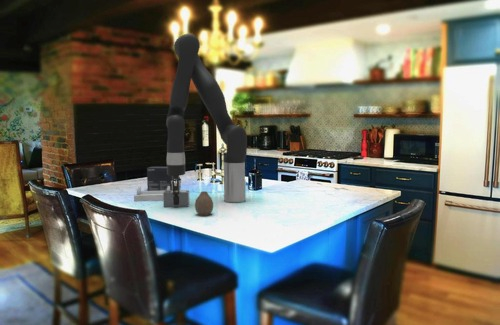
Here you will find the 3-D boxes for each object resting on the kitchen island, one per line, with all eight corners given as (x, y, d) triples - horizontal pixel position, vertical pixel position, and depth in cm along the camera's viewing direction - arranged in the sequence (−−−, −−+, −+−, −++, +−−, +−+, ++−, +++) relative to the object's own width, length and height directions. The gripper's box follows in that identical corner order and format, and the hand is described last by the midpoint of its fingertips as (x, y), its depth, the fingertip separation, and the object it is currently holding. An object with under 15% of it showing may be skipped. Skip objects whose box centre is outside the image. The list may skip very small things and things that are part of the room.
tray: (172, 195, 190) (172, 185, 189) (171, 200, 179) (170, 189, 178) (137, 196, 187) (137, 185, 187) (134, 201, 177) (133, 190, 176)
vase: (204, 211, 157) (204, 189, 156) (217, 214, 153) (216, 191, 152) (191, 214, 152) (190, 192, 151) (204, 217, 148) (203, 194, 147)
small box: (176, 189, 206) (176, 166, 204) (172, 192, 199) (172, 168, 198) (151, 189, 207) (151, 166, 206) (146, 191, 200) (146, 167, 199)
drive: (189, 204, 171) (189, 190, 170) (188, 207, 165) (188, 192, 165) (165, 204, 170) (165, 190, 170) (163, 207, 165) (163, 192, 164)
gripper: (184, 165, 159) (185, 206, 161) (185, 161, 173) (186, 199, 175) (165, 165, 158) (166, 207, 160) (167, 161, 172) (168, 200, 174)
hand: (176, 203), depth 168 cm, fingers closed on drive, 5 cm apart
